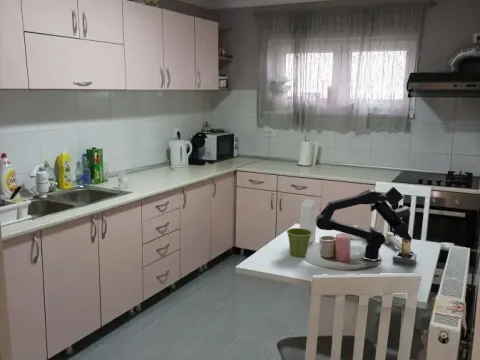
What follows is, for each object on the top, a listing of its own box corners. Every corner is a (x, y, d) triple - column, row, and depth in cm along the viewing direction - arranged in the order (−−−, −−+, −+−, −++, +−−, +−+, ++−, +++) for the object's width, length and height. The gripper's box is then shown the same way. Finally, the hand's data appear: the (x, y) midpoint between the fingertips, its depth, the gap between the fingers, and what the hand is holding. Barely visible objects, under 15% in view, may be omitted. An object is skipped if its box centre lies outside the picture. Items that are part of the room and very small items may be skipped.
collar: (413, 266, 211) (413, 260, 210) (392, 262, 215) (393, 256, 214) (415, 260, 219) (416, 254, 218) (396, 256, 223) (396, 250, 222)
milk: (308, 243, 237) (311, 201, 232) (298, 241, 241) (301, 199, 236) (315, 241, 241) (318, 199, 237) (305, 238, 245) (308, 197, 241)
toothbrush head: (406, 251, 220) (383, 228, 243) (403, 264, 222) (381, 240, 245) (416, 251, 220) (392, 228, 244) (414, 264, 223) (390, 240, 246)
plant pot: (291, 248, 228) (293, 226, 226) (314, 253, 223) (316, 230, 220) (280, 255, 218) (282, 232, 216) (304, 261, 213) (306, 237, 210)
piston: (403, 263, 214) (406, 237, 212) (397, 260, 218) (400, 234, 215) (410, 262, 216) (413, 236, 213) (404, 259, 220) (407, 233, 217)
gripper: (404, 205, 203) (428, 231, 204) (396, 196, 221) (417, 220, 222) (384, 221, 205) (407, 247, 206) (377, 211, 223) (398, 235, 224)
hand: (408, 236), depth 214 cm, fingers open, 9 cm apart
